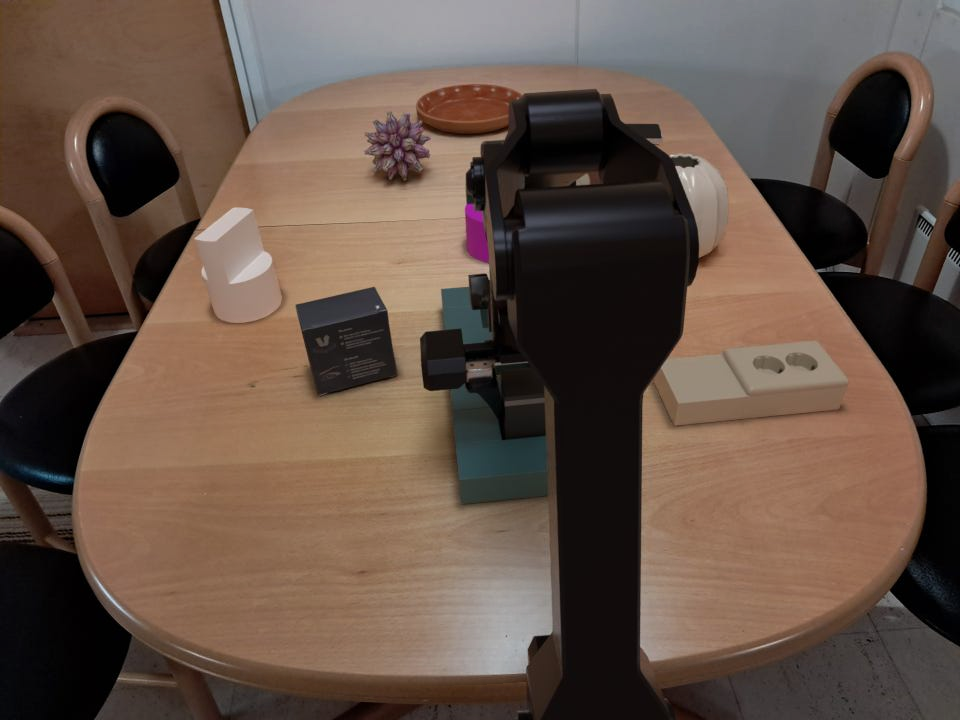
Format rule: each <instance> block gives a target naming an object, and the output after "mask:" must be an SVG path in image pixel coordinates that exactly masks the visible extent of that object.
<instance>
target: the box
mask: <svg viewBox="0 0 960 720" xmlns="http://www.w3.org/2000/svg"><path fill="white" fill-rule="evenodd" d="M295 310H296V315H297V318H298V319H297V320H298V323H299V327H300V330H301V335H302V339H303V344H304V348H305V351H306V355H307V359H308V363H309V368H310V372H311V375H312V379H313V382H314V383H313V384H314V387H315V390H316V392H317V396H319V397H323V396H326V395H327V394H328V393H333V392H336V391H338V392H339V391H342V390H344V389H348V388H352V387H356V386H360V385H364V384H367V383H372V382H374V381H380V380H383V379H387V378H393V377H396V376H397V375H398V370H397V369H398V368H397V364H396V358H395V353H394V347H393V341H392V335H391V334H392V333H391V327H390V320H389V312H388V311H389V310H388V309H387V307H386V304H385V303H384V302H383V299H382V297H381V296H380V294H379V292H378V290H377V288H376V286H371V287H366V288H363V289H358V290H353V291H349V292H344V293H341V294H340V293H339V294H336V295H332V296H328V297H322V298H319V299H314V300H310V301H306V302H301V303H296V304H295Z"/></svg>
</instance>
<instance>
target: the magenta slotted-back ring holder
mask: <svg viewBox="0 0 960 720" xmlns="http://www.w3.org/2000/svg"><path fill="white" fill-rule="evenodd" d="M464 219H465V237H466V250H467V253H468V254H469V255H470V256H471V257H472V258H474V259H476V260H478V261H481V262H485V263H489V251H488V243H487V241H486V236H485V230H484V223H483V217H482V211H474V206H473V204H467V203H466V204H465V206H464Z"/></svg>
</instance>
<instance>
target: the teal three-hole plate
mask: <svg viewBox="0 0 960 720" xmlns="http://www.w3.org/2000/svg"><path fill="white" fill-rule="evenodd" d="M440 294H441V295H440V296H441V306H442V316H443V326H444V327H443V328H444V330H450V329H461V330H462V337H463V344H472V343H483V342H484V341H485V340H492V332H489V328H488V314H487V309H482V310H472V309H471V305H470V295H469V286H459V287H458V286H457V287H447V288H441V289H440ZM522 368H532V367H531V366H530V365H529V363H519V364H508V365H497V366H495V371H496V375H500V371H501V370H512V369H522ZM497 380H498V385H499V390H500V378H499V377H497ZM449 390H450V400H451V410H452V411H451V412H452V421H453V431H454V443H455V453H456V464H457V473H458V485H459V494H460V503H461V505H469V504H477V503H488V502H489V503H490V502H498V501H509V500H518V499H526V498H527V499H528V498H537V497H548V481H547V453H546V436H541V437H530V438H520V439H510V440H504V439H503V437H502V432H503V429H502V424H500V422H499V421H498V419H497V417H496V416H495V414H494V413H493V411H492V409H491V408H490V406H489V405H488V404H487V403H486V402H485V401H484V400H483V399H482V398H481V396H480V395H479V394H478V393H468V392H467V391H466V389H465V383H464V384H463V385H462V386H461V387H460V388H459V389H449ZM500 395H501V392H500Z"/></svg>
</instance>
